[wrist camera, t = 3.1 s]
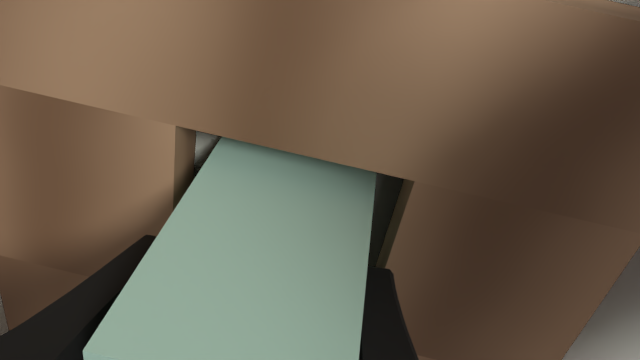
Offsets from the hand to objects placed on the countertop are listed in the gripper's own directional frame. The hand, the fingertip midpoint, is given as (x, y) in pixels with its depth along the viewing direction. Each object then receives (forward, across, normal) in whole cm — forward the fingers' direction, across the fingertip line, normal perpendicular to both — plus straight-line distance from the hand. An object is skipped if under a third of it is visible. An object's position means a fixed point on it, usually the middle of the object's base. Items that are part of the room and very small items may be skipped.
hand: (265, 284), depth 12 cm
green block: (+3, 0, 0) cm, 3 cm away
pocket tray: (+3, 0, 0) cm, 3 cm away
